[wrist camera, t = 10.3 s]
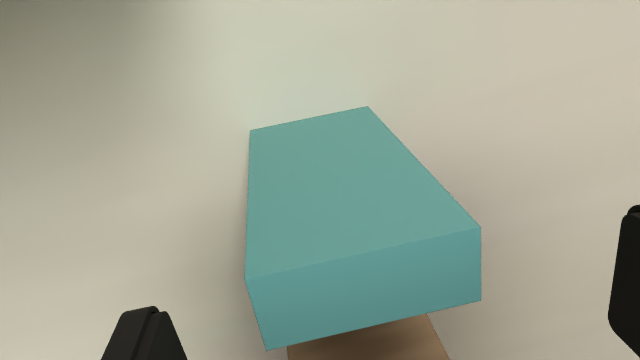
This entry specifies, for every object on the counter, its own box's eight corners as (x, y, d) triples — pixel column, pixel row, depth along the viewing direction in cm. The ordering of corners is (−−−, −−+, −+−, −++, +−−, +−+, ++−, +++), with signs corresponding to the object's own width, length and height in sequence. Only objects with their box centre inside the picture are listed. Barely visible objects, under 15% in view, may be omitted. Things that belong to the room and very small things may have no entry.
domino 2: (381, 227, 21) (479, 417, 12) (385, 260, 21) (480, 462, 12) (278, 249, 20) (297, 462, 11) (287, 282, 21) (310, 505, 12)
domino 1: (367, 106, 18) (480, 226, 9) (373, 149, 19) (481, 300, 10) (250, 130, 18) (244, 279, 9) (261, 173, 19) (266, 350, 10)
